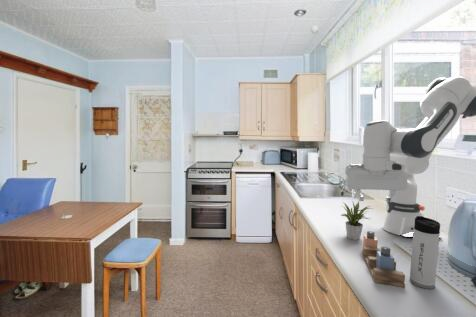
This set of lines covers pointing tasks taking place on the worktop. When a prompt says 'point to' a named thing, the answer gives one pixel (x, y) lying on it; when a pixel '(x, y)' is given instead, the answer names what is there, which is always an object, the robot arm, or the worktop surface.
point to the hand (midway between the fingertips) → (374, 201)
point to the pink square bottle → (370, 240)
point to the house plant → (354, 221)
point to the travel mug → (424, 252)
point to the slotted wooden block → (382, 274)
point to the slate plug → (385, 259)
